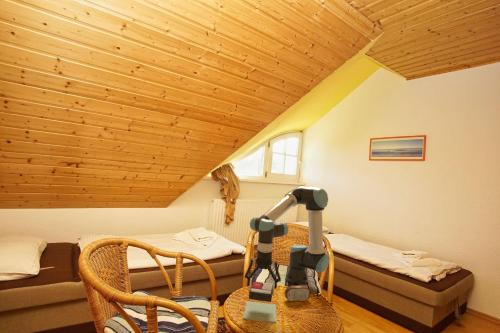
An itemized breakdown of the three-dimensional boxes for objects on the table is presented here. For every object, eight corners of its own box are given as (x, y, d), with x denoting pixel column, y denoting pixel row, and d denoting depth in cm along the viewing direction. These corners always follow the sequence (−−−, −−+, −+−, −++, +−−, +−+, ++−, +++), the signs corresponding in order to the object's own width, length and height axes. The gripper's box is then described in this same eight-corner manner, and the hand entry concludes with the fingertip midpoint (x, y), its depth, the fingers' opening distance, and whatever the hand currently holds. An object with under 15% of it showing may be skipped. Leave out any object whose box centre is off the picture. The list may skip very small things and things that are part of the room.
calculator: (273, 283, 153) (271, 293, 138) (273, 291, 153) (271, 302, 138) (253, 280, 155) (249, 290, 140) (252, 288, 154) (248, 299, 140)
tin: (307, 299, 166) (308, 284, 166) (310, 301, 163) (311, 286, 163) (283, 300, 162) (284, 285, 162) (285, 302, 159) (286, 287, 159)
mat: (276, 305, 154) (276, 304, 154) (275, 323, 137) (276, 321, 137) (246, 302, 156) (246, 301, 156) (242, 319, 138) (242, 317, 138)
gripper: (287, 250, 149) (284, 292, 149) (242, 246, 152) (239, 287, 151) (288, 254, 142) (284, 299, 141) (241, 250, 144) (237, 293, 144)
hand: (261, 293), depth 146 cm, fingers closed on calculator, 11 cm apart
